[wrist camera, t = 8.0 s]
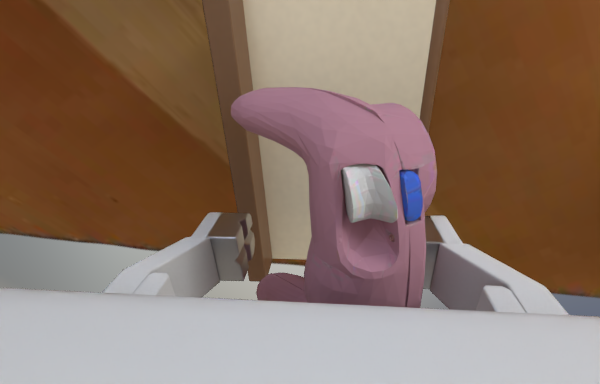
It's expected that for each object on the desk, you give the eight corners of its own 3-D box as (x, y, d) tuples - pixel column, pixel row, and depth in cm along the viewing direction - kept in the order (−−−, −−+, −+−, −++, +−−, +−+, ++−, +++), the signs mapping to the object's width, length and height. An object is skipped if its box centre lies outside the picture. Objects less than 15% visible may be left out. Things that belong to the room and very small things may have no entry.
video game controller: (336, 267, 16) (428, 397, 10) (253, 292, 15) (304, 458, 9) (341, 72, 11) (514, 104, 6) (222, 82, 10) (286, 137, 4)
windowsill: (412, -22, 21) (489, -77, 11) (389, 198, 29) (419, 288, 19) (258, -11, 22) (192, -50, 12) (278, 197, 31) (249, 281, 20)
